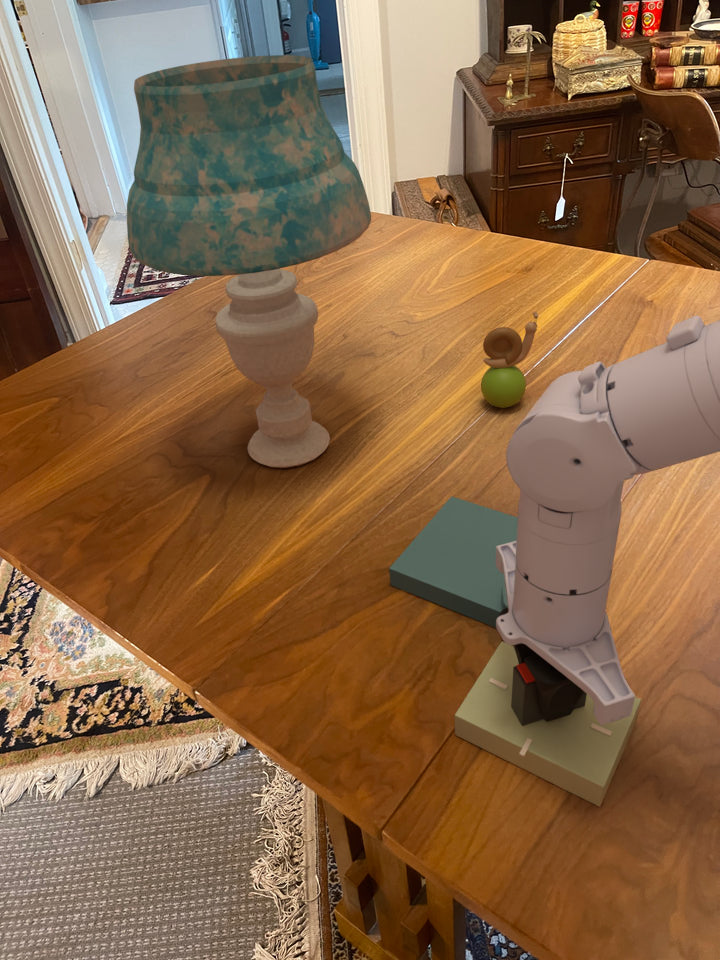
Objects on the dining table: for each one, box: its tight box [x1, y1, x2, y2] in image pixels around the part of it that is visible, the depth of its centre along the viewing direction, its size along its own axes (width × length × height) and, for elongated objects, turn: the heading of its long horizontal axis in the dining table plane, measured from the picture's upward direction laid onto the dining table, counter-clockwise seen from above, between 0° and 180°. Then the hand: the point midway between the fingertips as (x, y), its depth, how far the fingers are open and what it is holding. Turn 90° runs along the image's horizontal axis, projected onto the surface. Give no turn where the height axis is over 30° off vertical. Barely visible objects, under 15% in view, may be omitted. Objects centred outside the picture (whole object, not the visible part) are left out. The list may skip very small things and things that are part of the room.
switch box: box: [388, 495, 518, 629], centre depth 66 cm, size 18×13×4 cm
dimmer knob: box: [511, 663, 587, 726], centre depth 52 cm, size 5×2×5 cm, turn 106°
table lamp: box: [126, 54, 372, 469], centre depth 76 cm, size 24×24×40 cm
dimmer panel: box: [454, 641, 642, 807], centre depth 54 cm, size 11×9×3 cm
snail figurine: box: [480, 311, 539, 409], centre depth 88 cm, size 5×6×12 cm
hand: (548, 700), depth 53 cm, fingers closed on dimmer knob, 2 cm apart
